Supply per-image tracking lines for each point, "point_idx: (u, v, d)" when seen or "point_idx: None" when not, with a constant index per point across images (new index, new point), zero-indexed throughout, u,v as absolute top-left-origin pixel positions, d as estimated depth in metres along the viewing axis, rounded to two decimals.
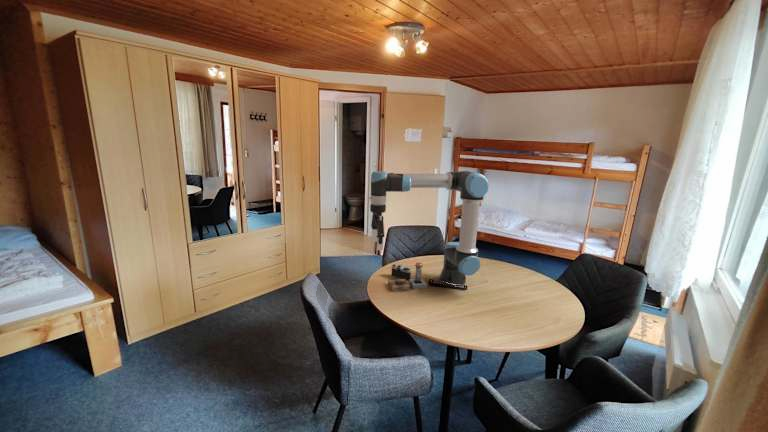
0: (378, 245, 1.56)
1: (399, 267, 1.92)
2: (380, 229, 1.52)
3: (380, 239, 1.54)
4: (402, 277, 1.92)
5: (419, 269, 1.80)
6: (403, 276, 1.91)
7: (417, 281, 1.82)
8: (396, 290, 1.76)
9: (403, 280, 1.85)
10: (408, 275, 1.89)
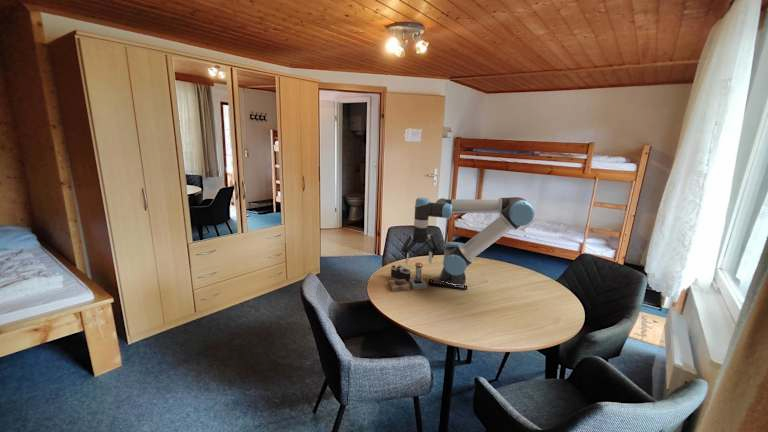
0: None
1: (399, 268, 1.90)
2: (404, 245, 1.77)
3: (404, 254, 1.78)
4: (402, 278, 1.90)
5: (419, 269, 1.80)
6: (403, 277, 1.90)
7: (417, 281, 1.82)
8: (396, 290, 1.76)
9: (403, 280, 1.85)
10: (408, 276, 1.88)
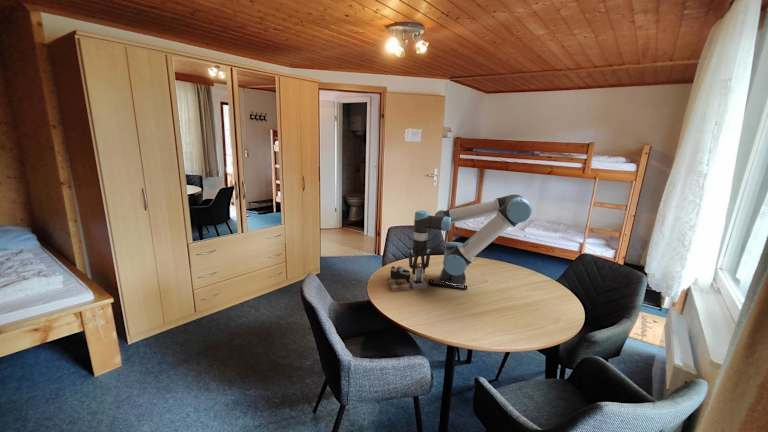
0: None
1: (398, 269, 1.89)
2: (409, 261, 1.80)
3: (412, 270, 1.81)
4: None
5: (419, 269, 1.80)
6: (402, 278, 1.88)
7: (417, 281, 1.82)
8: (396, 290, 1.76)
9: (403, 280, 1.85)
10: (407, 277, 1.86)
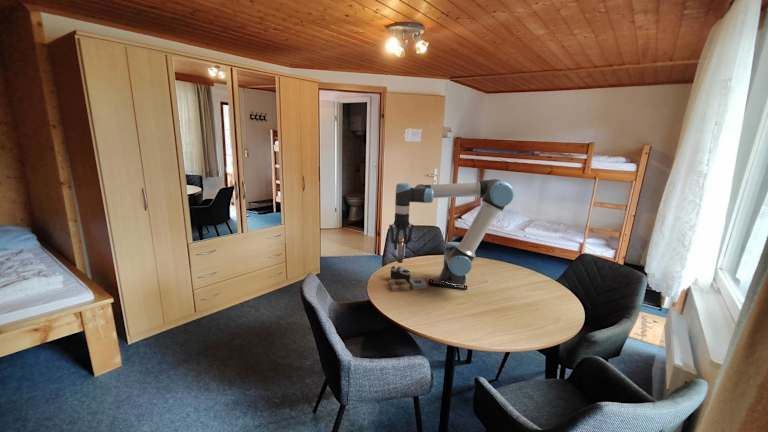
0: None
1: (398, 269, 1.89)
2: None
3: (394, 245, 1.76)
4: None
5: (401, 244, 1.75)
6: (402, 278, 1.88)
7: (399, 256, 1.76)
8: (396, 290, 1.76)
9: (403, 280, 1.85)
10: (407, 277, 1.86)
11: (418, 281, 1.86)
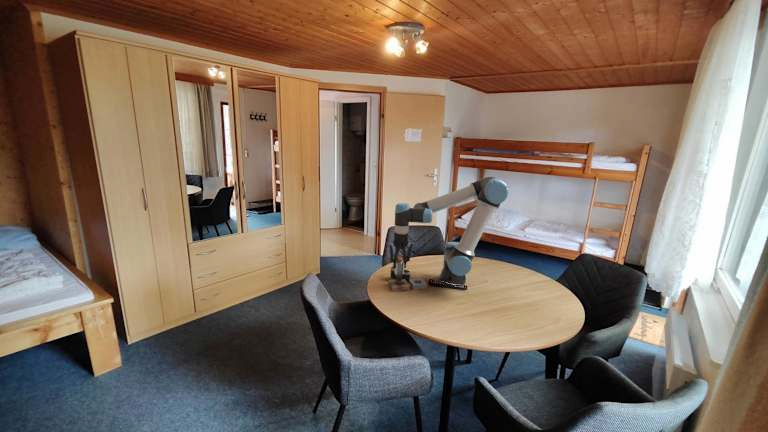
0: None
1: None
2: (390, 255, 1.77)
3: (393, 263, 1.78)
4: None
5: (400, 263, 1.77)
6: (402, 278, 1.88)
7: (398, 275, 1.79)
8: (396, 290, 1.76)
9: (403, 280, 1.85)
10: (407, 277, 1.86)
11: (418, 281, 1.86)
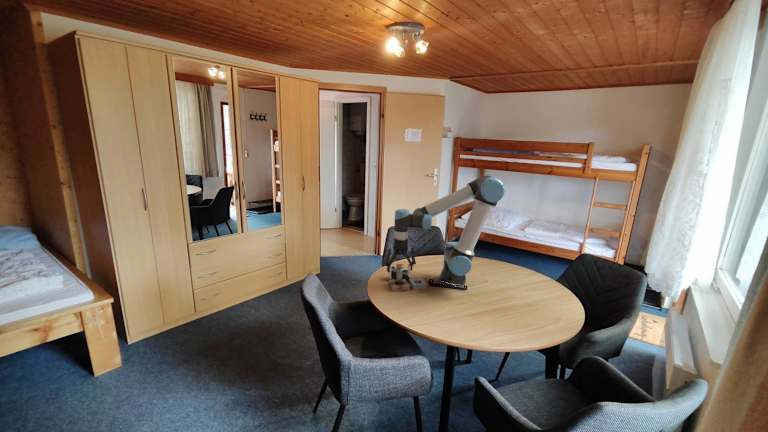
0: None
1: None
2: (385, 258, 1.77)
3: (387, 267, 1.78)
4: None
5: (400, 270, 1.78)
6: (402, 278, 1.88)
7: (398, 282, 1.80)
8: (396, 290, 1.76)
9: (403, 280, 1.85)
10: (408, 277, 1.86)
11: (418, 281, 1.86)
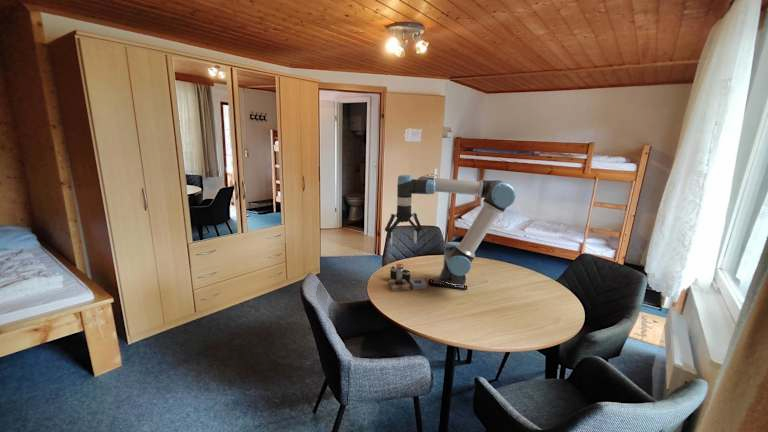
0: (390, 239, 1.75)
1: None
2: (387, 224, 1.73)
3: (388, 233, 1.74)
4: None
5: (400, 270, 1.78)
6: (402, 278, 1.88)
7: (398, 282, 1.80)
8: (396, 290, 1.76)
9: (403, 280, 1.85)
10: (408, 277, 1.86)
11: (418, 281, 1.86)
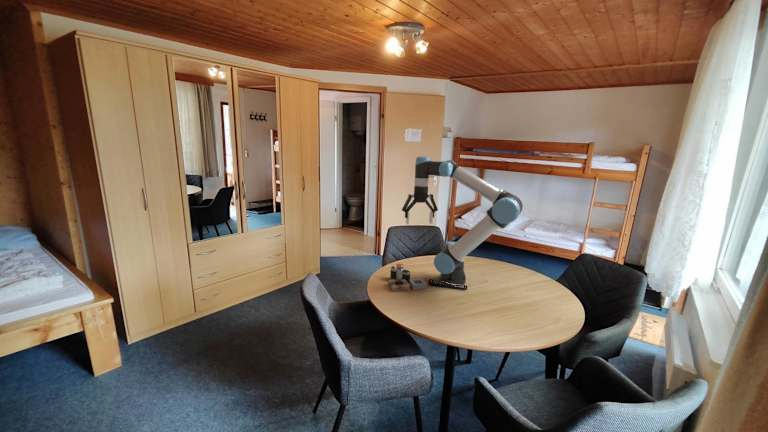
0: (406, 219, 1.81)
1: None
2: (404, 204, 1.78)
3: (405, 213, 1.79)
4: None
5: (400, 270, 1.78)
6: (402, 278, 1.88)
7: (398, 282, 1.80)
8: (396, 290, 1.76)
9: (403, 280, 1.85)
10: (408, 277, 1.86)
11: (418, 281, 1.86)
